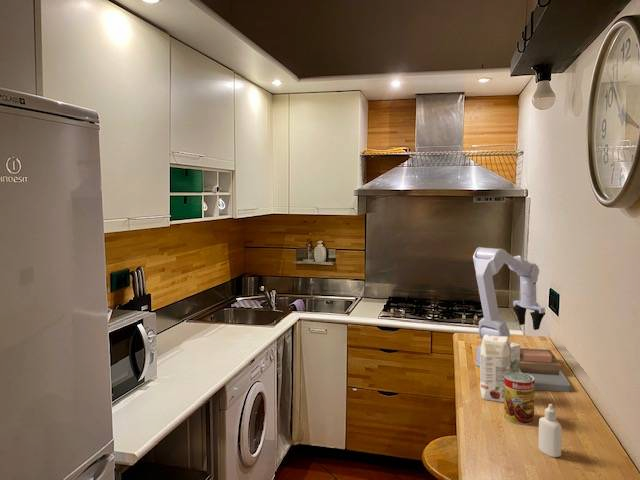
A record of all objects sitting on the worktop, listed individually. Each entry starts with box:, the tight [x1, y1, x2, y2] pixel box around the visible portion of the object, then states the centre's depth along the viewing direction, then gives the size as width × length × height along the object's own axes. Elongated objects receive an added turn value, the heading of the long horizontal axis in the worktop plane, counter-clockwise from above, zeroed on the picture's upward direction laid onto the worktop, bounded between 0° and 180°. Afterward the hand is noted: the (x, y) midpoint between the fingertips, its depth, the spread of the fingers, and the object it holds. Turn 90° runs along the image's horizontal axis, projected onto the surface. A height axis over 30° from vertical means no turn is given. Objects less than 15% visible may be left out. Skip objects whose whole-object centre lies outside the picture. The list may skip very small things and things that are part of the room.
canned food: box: [503, 372, 536, 426], centre depth 140 cm, size 8×8×12 cm
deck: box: [519, 347, 562, 375], centre depth 182 cm, size 18×14×4 cm
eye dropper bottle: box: [537, 403, 563, 458], centre depth 121 cm, size 4×6×12 cm
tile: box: [522, 350, 552, 362], centre depth 179 cm, size 6×9×2 cm, turn 76°
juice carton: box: [479, 335, 511, 403], centre depth 154 cm, size 8×9×19 cm
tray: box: [519, 368, 572, 393], centre depth 167 cm, size 14×14×2 cm
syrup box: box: [510, 341, 521, 372], centre depth 163 cm, size 6×6×14 cm
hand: (529, 326), depth 196 cm, fingers open, 7 cm apart
